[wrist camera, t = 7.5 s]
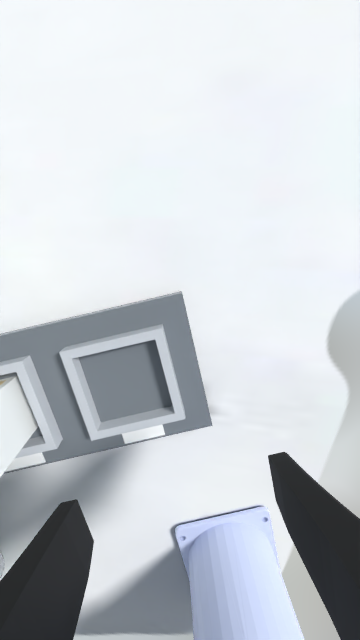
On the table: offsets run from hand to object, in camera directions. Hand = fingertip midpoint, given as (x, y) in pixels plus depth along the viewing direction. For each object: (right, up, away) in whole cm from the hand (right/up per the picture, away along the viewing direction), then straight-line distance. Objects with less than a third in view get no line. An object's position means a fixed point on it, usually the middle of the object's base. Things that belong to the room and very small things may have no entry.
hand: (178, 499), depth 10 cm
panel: (-8, +2, +9) cm, 12 cm away
